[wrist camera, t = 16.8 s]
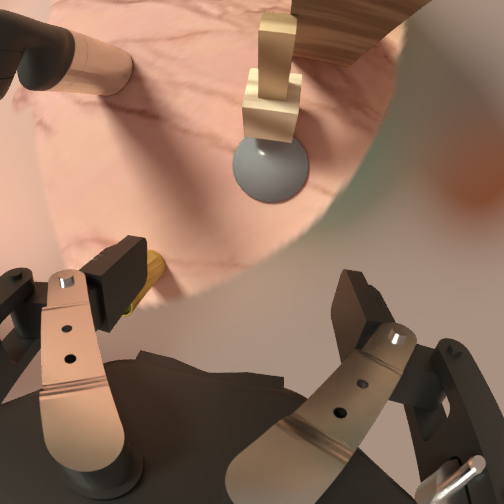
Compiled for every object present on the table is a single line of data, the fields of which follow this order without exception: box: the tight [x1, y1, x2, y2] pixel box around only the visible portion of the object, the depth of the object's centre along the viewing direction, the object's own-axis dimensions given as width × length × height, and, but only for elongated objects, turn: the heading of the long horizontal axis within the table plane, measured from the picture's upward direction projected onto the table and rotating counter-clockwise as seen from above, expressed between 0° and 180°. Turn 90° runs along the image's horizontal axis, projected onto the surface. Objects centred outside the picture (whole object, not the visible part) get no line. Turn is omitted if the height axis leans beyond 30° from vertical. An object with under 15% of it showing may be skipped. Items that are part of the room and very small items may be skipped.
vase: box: [122, 250, 165, 317], centre depth 49 cm, size 6×6×14 cm
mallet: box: [242, 12, 302, 143], centre depth 32 cm, size 20×7×7 cm
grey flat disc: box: [233, 136, 308, 202], centre depth 46 cm, size 12×12×1 cm
